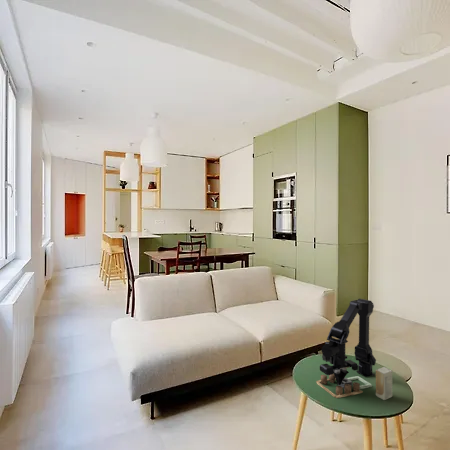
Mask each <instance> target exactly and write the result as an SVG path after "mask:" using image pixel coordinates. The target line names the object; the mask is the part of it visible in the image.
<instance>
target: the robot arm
mask: <svg viewBox="0 0 450 450" xmlns="http://www.w3.org/2000/svg"><path fill="white" fill-rule="evenodd" d="M374 307H375V304H374V302H373V301H372V300H369V299H365V298H364V299H363V298H358V299H353V300H350V301H349V305H348V307H347V309H346V310H345V312H344V314H343V315H342V317H341V319H339V321H337V322H335V323H334V324H333V325H332V326H331V327H330V329H329V333H328V335H327V337H326V340H327V341H325V342H324V345H322V346H321V349H320V350H321V353H322V354H321V355H322V356H321V359H322V361H325V363H321V364H320V365H319V371H320V372H322V373H323V374H324V375H326V376H329V375H332V374H334V376H335V378H336V380H335V382H336V384H337V386H339V385H341V383H342V381H343V379H344V378H346V376H347V375H348V374H349V373H350V372H349V370H347V369H348V368H351V370H352V371H356V372H357V373H358V374H360V375H361V376H363V377H365V378H368V377H373V376H374V377H375V376H376V373H373V366H375V365H376V363H377V359H376V358H375V357H374V355H373V349H372V347H371V346H370V316H371V315H372V314H373V313H374ZM357 315H358V343H357V345H355V346H354V353H353V354H354V357H355V361H358V363H356V362H355V361H353V360H351V359H348V356H347V355H346V343H348V342H349V341H348V340H347V339H348V338H349V334H350V333H351V332H350V326H351V325H352V323H353V321H354V320H355V318H356V316H357ZM327 362H329V364H328V363H327ZM330 364H331V365H330Z"/></svg>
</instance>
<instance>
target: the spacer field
mask: <svg viewBox="0 0 450 450" xmlns="http://www.w3.org/2000/svg"><path fill="white" fill-rule="evenodd" d="M315 382H316V384H317V385H318V386H319V387H321V388H322V389H323V390H324V391H326V392H327V393H328V394H330V395H331V396H332V397H333V398H336V399H340V398H345V397H350V396H355V395H358V394H363V392H364V391H363V390H361V389H360V386H361V384H360V383H359V382H355V381H354V382H353V381H352V388H351V385H349V384H345V385H344V389H343V387H341V386H339V385H336V386H335V393H333V392H332V391H331V390H330V389H329V388H327V387H325V385H328V382H329V383H331V384H335V383H336V378H335V376H334V373H333V374H332V375H326V374H321V375H320V379H319V380H316V381H315ZM343 390H344V391H343ZM343 392H344V393H343Z"/></svg>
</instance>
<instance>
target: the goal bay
mask: <svg viewBox="0 0 450 450" xmlns="http://www.w3.org/2000/svg"><path fill="white" fill-rule="evenodd" d="M346 378H347V379H349V380H350V381H355V380H358V381H360V382H362V383H363V384H360V390H363V389H367V388H372V387H373V384H372V383H370V382H369V381H367V380H365V379H364V378H362V377H360V376H358V375H357V376H356V375H355V376H350V377H346Z"/></svg>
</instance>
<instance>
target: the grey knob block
mask: <svg viewBox="0 0 450 450" xmlns="http://www.w3.org/2000/svg"><path fill="white" fill-rule="evenodd" d="M347 378H348V377H345V378H344V379H343V381H342V383H341V385H338V386H341V387H343V390H344V385H345V384H349V385H351V389H353V380H351V381H350V380H349V379H347Z"/></svg>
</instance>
